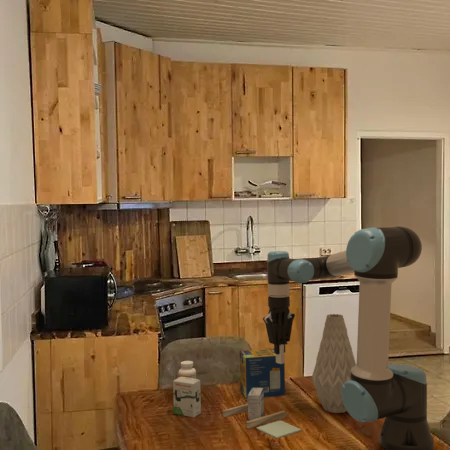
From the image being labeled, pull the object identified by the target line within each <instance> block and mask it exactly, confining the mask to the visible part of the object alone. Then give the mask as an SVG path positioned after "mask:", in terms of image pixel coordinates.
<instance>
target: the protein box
mask: <svg viewBox="0 0 450 450" xmlns="http://www.w3.org/2000/svg"><path fill="white" fill-rule="evenodd" d="M285 371H286V370H285V362H284V363H283V364H279V363H276V354H275V353H274V348H265V349H253V350H252V349H251V350H239V377H240V378H239V379H240V381H239V384H240V386H239V387H240V389H239V390H240V391H241V393H242V394H243V396H244V398H245V399H247V400H248V394H249V392H250V390H251V388H263V389H264V398H272V397H284V396H286V372H285Z"/></svg>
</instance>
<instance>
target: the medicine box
mask: <svg viewBox="0 0 450 450" xmlns="http://www.w3.org/2000/svg"><path fill="white" fill-rule="evenodd" d="M247 404H248V411H247V416H248V421H250V420H253V419H256V418H260V417H263V416H264V415H265V414H264V413H265V397H264V389H263V388H251V390H250V392H249V394H248V398H247Z"/></svg>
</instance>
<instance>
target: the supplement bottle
mask: <svg viewBox="0 0 450 450" xmlns="http://www.w3.org/2000/svg"><path fill="white" fill-rule="evenodd" d="M179 377H187V378H193V379H197V370H196V368H194V361H193V360H184V361H181V362H180V368H179V370H178V378H179Z"/></svg>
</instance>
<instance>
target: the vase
mask: <svg viewBox="0 0 450 450" xmlns="http://www.w3.org/2000/svg"><path fill="white" fill-rule="evenodd" d="M356 364H357V362H356V360H355V356H354V352H353V349H352V346H351V341H350V337H349V335H348V329H347V326H346V323H345V318H344V315H343V314H339V313H336V314H335V313H333V314H332V313H331V314H327V315H326V318H325V322H324V327H323V331H322V338H321V341H320V344H319V349H318V352H317V356H316V362H315V366H314V368H313V372H312V376H311V382H312V384H313V387H314V388H315V392H316V396H317V398H318V401H319V403H321V405H322V409H323V410H324V411H326V412H329V413H332V414H341V413H342V414H343V413H348V411H347V409H346V408H345V406H344V404H343V401H342V396H341V389H342V386H343V385H344V384H345V382H347V381H349V380H350V379H351V369H352V368H353V367H354V366H355V365H356Z"/></svg>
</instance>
